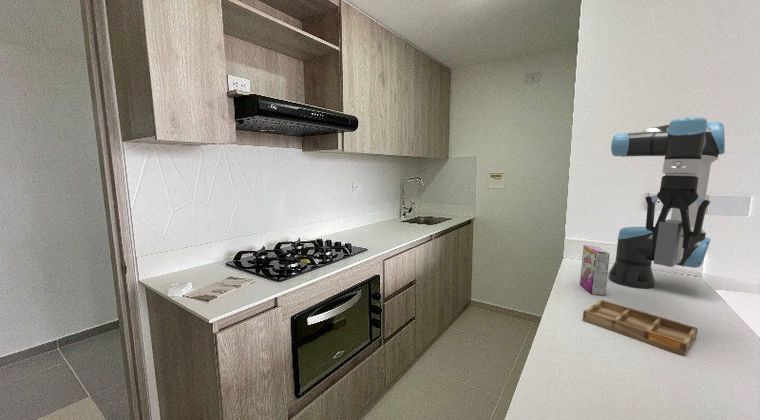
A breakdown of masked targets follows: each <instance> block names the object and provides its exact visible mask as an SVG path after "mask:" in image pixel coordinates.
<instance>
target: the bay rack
mask: <svg viewBox="0 0 760 420" xmlns="http://www.w3.org/2000/svg"><path fill="white" fill-rule="evenodd" d="M582 314H583V315H582V321H583V322H586V323H589V324H591V325H595V326H597V327H600V328H603V329H606V330H609V331H612V332H613V333H614V332H615V333H617V334H619V335H623V336H626V337H629V338H632V339H634V340H638V341H640V342H644V343H646V344H648V345H651V346H655V347H657V348H660V349H663V350H665V351H668V352H671V353H674V354H678V355H680V356H683V357H685V356H686V355H687V353H688V351H689V350H690V348H691V347H692V345H693V343H694V342H695V341H696V338H697V333H698V327H695V326H692V325H689V324H687V323H686V324H684V323H682V322H678V321H675V320H671V319H668V318H664V317H662V316H658V315H654V314H651V313H649V312H648V313H647V312H644V311H641V310H637V309H634V308H630V307H627V306H624V305H620V304H618V303H615V302H610V301H607V300H604V299H601V300H599V301H597V302H596V303H594V304H593V305H591V306H589V307H588V308H586V309H585V310H583V313H582Z"/></svg>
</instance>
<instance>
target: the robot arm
mask: <svg viewBox="0 0 760 420" xmlns="http://www.w3.org/2000/svg"><path fill="white" fill-rule="evenodd" d="M725 141H726V139H725V126H724V124H723V123H722V122H719V121H715V122H714V121H711V122H708V120H707V119H706V118H705V117H700V116H699V117H698V116H693V117H692V116H690V117H689V116H688V117H679V118H675V119H674V118H673V120H671V121H670V122H669V124H664V125H660V126H656V127H651V128H646V129H644V130H642V131H638V132H623V133H617V134H614V136H613V138H612V140H611V145H610V151H611V155H612V156H614V157H623V158H624V157H664V160H663V166H662V174H663V175H662V176H661V181H660V188H659V190H658V192H657V194H655V195H648V196H645V201H646V203H647V208H646V209H647V210H646V220H645V226H627V227H622V228H621V229H619V231H618V236H617V243H616V254H615V261H614V263H613V265H612V267H611V268H610V270H609V272H608V275H607V279H609V280H610V281H611V282H613V283H615V284H618V285H622V286H627V287H631V288H638V289H653V288H654V287H655V283H656V280H655V277H654V273H653V270H652V262H654V256H655V249H656V242H657V235H658V227H659V222H660V221H664V220H667V216H668V215H669V212H670V210H671V214H670V220H679V221H682V227H683V234H684V235H683V236H680V238H679V245H678V252H677V258H676V259H677V260H681V262H680V263H678V264H677V265H676V266H680V267H688V268H693V269H695V268H696V269H697V268H700V267H701V266H702V265H703V263H704V259H705V257H706V254H707V251H708V249H709V245H710V242H711V238H709V237H706V236H707V234H706V231H705V230H703V225H704V220H705V215H706V212H707V208H708V207H709V205H710V204H711V200H710V199H706V198H707V191H708V186H709V185H708V184H709V179H710V172H711V167H712V164H713V163H714V162H716V161H718V160H719V159H718V158H719V155H724V154H725V153H726V151H725V150H726V149H725V148H726V146H725V144H726V143H725ZM658 200H659V201H660V203H661V204H662V207H661V210H660V213H659V216H658V218H657V221H656V222H655V211H656V203H657V202H658ZM654 222H655V225H654Z"/></svg>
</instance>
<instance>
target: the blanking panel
mask: <svg viewBox="0 0 760 420" xmlns="http://www.w3.org/2000/svg"><path fill="white" fill-rule="evenodd" d="M683 235H684V234H683V227H682V221H679V220H671V219H669V218H668V219H666V220H664V221H660V222H659V227H658V235H657V242H656V249H655V256H654V261H653V264H655V265H660V266H663V267H671V268H673V267H675V266H678V265H677V264H678V263H680V262H681V260H677V259H676V258H677V252H678V245H679V238H680V236H683Z"/></svg>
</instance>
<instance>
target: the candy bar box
mask: <svg viewBox="0 0 760 420" xmlns="http://www.w3.org/2000/svg"><path fill="white" fill-rule="evenodd" d="M610 255H611V253H610V252H608V251H607V250H605V249H602V248H601V247H599V246H598V245H590V244H589V245H588V244H583V247H582V256H581V257H582V258H581V266H580V267H581V268H580V277H579V279H580V280H579V284H580V285H581V286H582V287H583V288H584V289H585V290H586V291H587V292H589V294H590V295H595V296H606V290H607V282H608V275H609V272H608V271H609V263H610Z"/></svg>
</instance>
